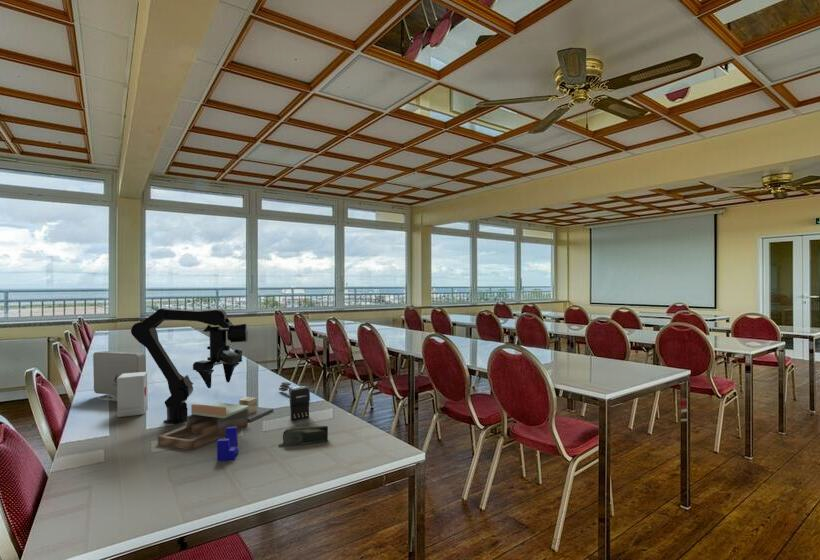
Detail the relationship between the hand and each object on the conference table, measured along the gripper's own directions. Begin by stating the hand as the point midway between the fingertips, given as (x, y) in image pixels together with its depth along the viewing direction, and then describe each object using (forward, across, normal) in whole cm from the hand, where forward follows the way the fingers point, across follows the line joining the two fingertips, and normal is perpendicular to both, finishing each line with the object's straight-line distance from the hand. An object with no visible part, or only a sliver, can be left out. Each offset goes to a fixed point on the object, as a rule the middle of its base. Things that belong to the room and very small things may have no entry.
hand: (218, 385), depth 166 cm
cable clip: (+12, -26, -29) cm, 40 cm away
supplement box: (+12, -6, +37) cm, 39 cm away
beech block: (+11, +6, -8) cm, 15 cm away
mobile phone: (+12, -12, -45) cm, 48 cm away
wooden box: (+12, -16, -9) cm, 22 cm away
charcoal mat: (+12, +6, -8) cm, 16 cm away
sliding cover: (+6, -8, -9) cm, 14 cm away
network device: (+12, +8, +64) cm, 65 cm away
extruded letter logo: (+13, +32, -9) cm, 36 cm away
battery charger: (+12, +8, -30) cm, 33 cm away
